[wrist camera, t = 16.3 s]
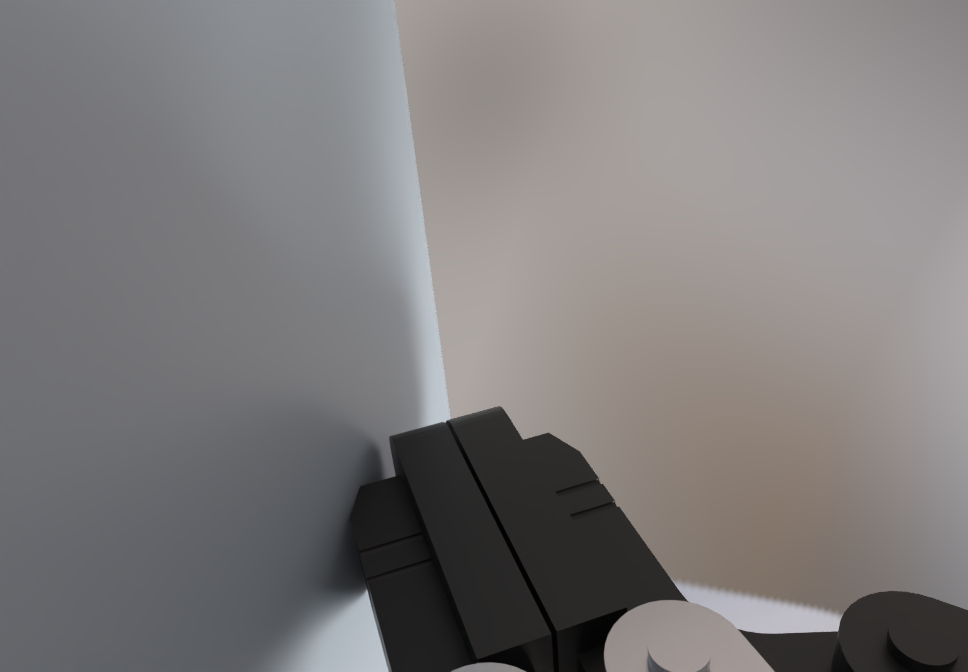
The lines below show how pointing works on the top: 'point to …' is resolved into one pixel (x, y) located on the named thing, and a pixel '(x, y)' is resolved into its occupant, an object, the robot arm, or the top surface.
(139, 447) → the cover
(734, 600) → the top surface
